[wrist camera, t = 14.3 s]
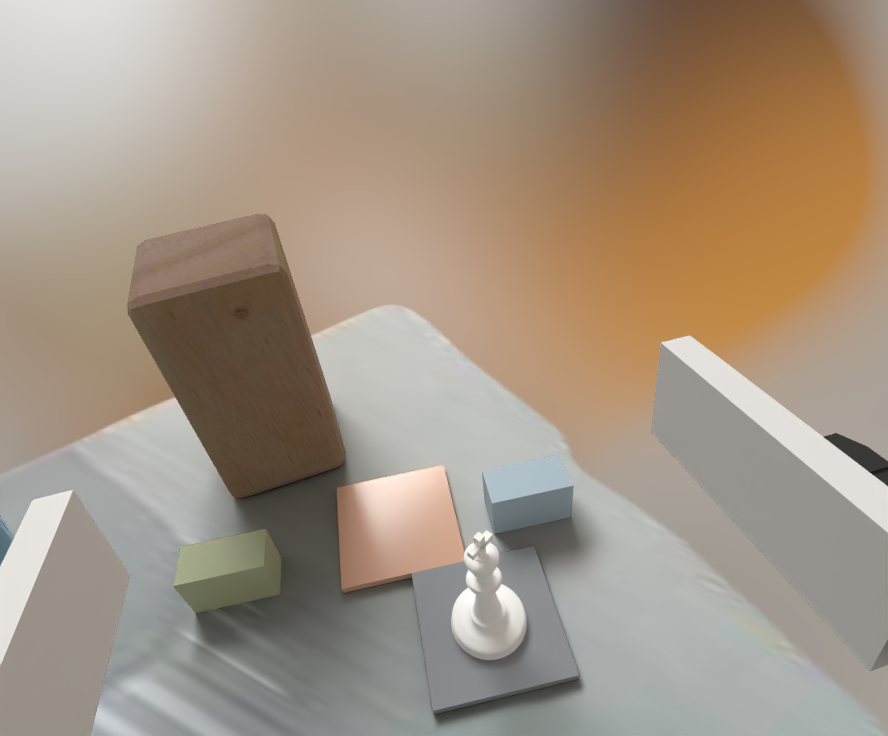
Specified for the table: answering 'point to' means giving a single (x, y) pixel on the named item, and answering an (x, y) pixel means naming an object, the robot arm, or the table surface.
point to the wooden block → (237, 351)
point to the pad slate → (480, 680)
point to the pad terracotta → (396, 528)
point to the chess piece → (487, 606)
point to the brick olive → (228, 571)
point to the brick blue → (527, 493)
